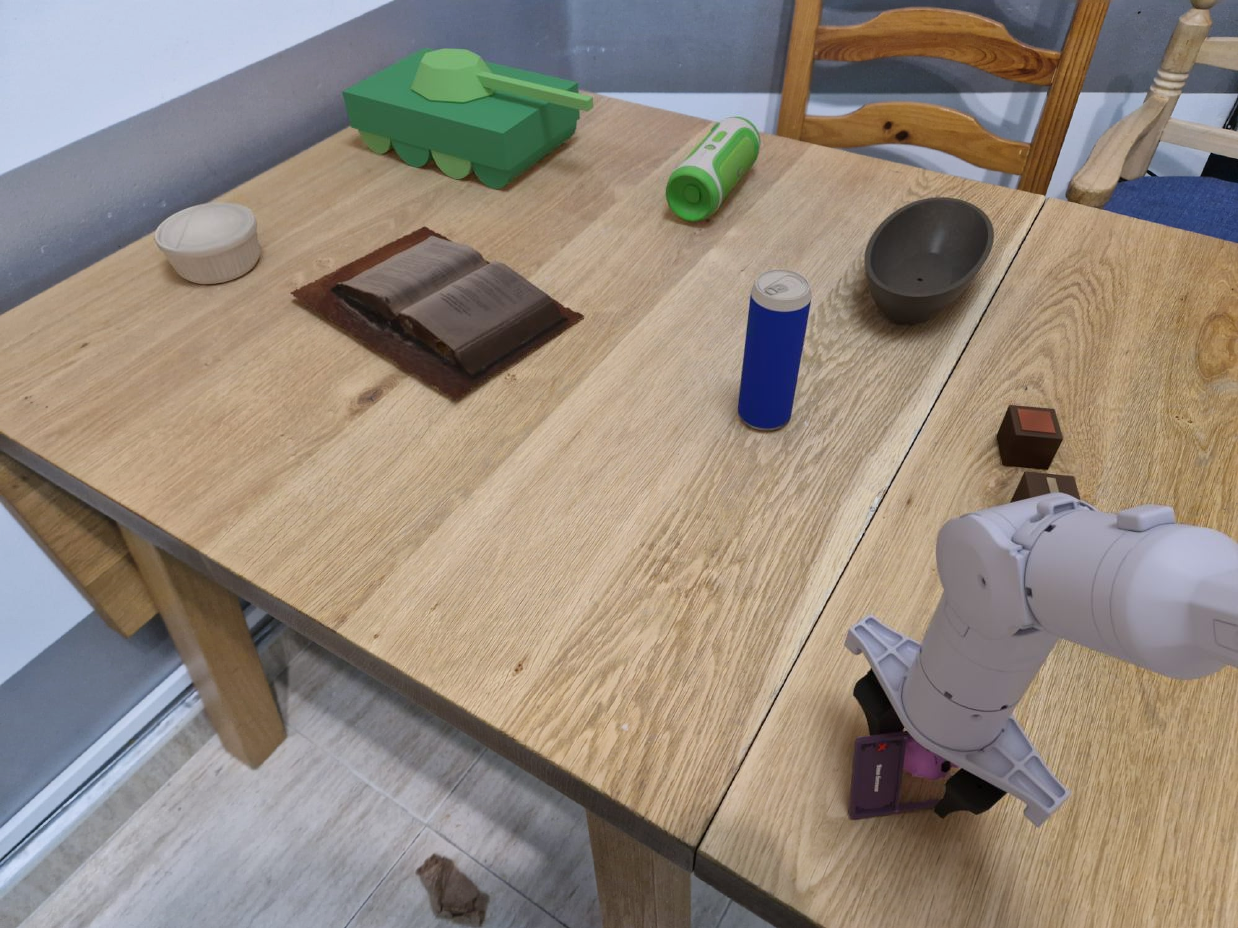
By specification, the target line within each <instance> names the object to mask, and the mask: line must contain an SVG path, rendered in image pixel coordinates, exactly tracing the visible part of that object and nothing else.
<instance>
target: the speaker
mask: <svg viewBox="0 0 1238 928" xmlns="http://www.w3.org/2000/svg"><path fill="white" fill-rule="evenodd" d="M760 151H761V135H760V133H759V130H758V129H757V127H756V126H755V125H754V123H752V121H750V120H749V119H747V118H745V117H742V116H729V117H727V118H724V119H722V120H720V121H718V122H716V124H714V125H713V126H712V127H711V129H710V130H709V132H708V133H707V135H706V136H705V137H704V138H703V139H702V140H701V141H700V142H699V143H698V144H697V146H695V148H694V149H693V150H691V152H690V153H689V154H688V155H687V156H686V158H685V159H684V160H682V162H680V163H679V164H678V165H677V166H676V167H675V168H674V169H673V170H672V172H671V174H670V175H669V178H668V180H667V184H666V187H665V199H666V203H667V205H668V208H670V210H671V211H672V212H673V214H674V215H676V216H677V217H678V218H679V219H681V220H683V221H687V222H692V223H693V222H694V223H695V222H700V221H703V220H706V219H707V218H709V217H710V216H712V215H713V214H715V213H716V212H717V211H718V210H719V209H720V208H721V206H722V203H723V202H724V200H726V198H727V197H728V195H729V194H730V193H731V191H733V189H734V188H735V186H736V185H737V184H738V183H739V181H740V180H741V179H742V178H743V176H745V174H746V173H747V172H748V171H749V170H750V169H751V168H752V167H754V165H755V163H756V161H757V160H758V158H759V157H758V156H759V154H760Z"/></svg>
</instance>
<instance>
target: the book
mask: <svg viewBox="0 0 1238 928" xmlns="http://www.w3.org/2000/svg"><path fill="white" fill-rule="evenodd" d="M483 256H484V255H482V253H481V252H480V251H478V250H476V249H475V248H474V247H472V246H471V245H468V244H464V243H459V242H455V241H453V240H451V239H449V238H447V236H444V235H442V234H441V233H439V232H435V231H434V230H433V229H430V228H429V227H428V226H422V227H420V228H418V229H415V230H413V231H412V232H411V233H409V234H405V235H403V236H402V237H399V238H396V239H395V240H393V241H391V242H389V243H387V244H385V245H383V246H382V247H379V248H377V249H374V250H372V252H369V253H368V254H365V255H364V256H361V257H359V258H357V259H355V260H353V261H351V262H349V263H347V264H345V265H343V266H341V267H339V268H337V269H336V270H335V271H331V272H330V273H328V274H325V275H323V276H322V277H320V278H318V279H315V280H314V281H310V282H309V283H307V284H306V285H305V284H304V285H303V286H301V287H299V289H298V288H296V289H295V290H293V291H290V295H292V296H293V297H294V298H296V299H298V300H299V301H301V302H303V304H306V306H308V307H309V308H311V309H313V310H315V311H316V312H317V313H320V314H322V316H323V317H325V318H326V319H329V320H331V321H332V322H333V323H334V324H336V325H337V326H339V327H340V328H343V329H344V330H346V331H347V332H348V333H350V334H351V335H353V336H354V337H355V338H358V340H361V341H362V342H364V343H365V344H367V345H369V347H371V348H373V349H374V350H376V351H377V352H379V353H381V354H382V355H385V356H386V357H387V358H389V359H390V360H392V362H394V363H396V365H398V366H401V367H402V368H404V369H406V370H407V371H408V372H410V373H413V374H414V375H415V376H417V377H418V378H419V379H420V380H421V381H423V382H424V383H427V384H428V385H429V386H431V387H435V388H436V389H438V391H440V392H442V393H443V394H444V395H447V396H448V397H449V398H452V399H453V401H457V400H460V398H462V397H463V396H466V395H467V394H468V392H471V391H472V389H474V388H477V387H478V386H480V384H483V383H485V382H487V381H488V380H490V377H492V378H493V377H494V375H495V374H498V373H500V372H501V371H503V370H505V369H506V368H507V367H509V366H511V365H514V364H515V363H516V362H518V361H519V360H520V359H522V358H523V357H526V356H527V355H528V354H529V353H532V352H533V351H534V350H536V349H537V348H539V347H541V346H543V345H544V344H545V343H546V342H548V341H549V340H551V339H553V338H555V337H556V336H557V335H559V334H560V333H562V332H563V331H565V330H567V329H569V327H571V326H573V325H574V324H575V323H578V322H579V321H580V320H581V319H584V317H585V316H584V315H583V314H582V313H580V312H577V311H574V310H572V309H571V308H570V307H565V306H564V305H563V304H562V303H560V302H559V301H558V300H556V299H554V298H552V297H551V295H549V294H548V293H547V292H544V291H543V290H542V289H540V288H539V287H538V286H536V284H533V283H532V282H531V281H530V280H528V279H526V278H525V277H524V276H523V275H521V274H520V273H519V272H517V271H515V270H514V269H512V268H511V266H508V265H507V264H506V263H502V262H499V261H497V260H493V261H491V262H490V261H487V260H486V259H485V258H484V257H483ZM439 342H440V343H442V344H444V345H445V346H446V347H447V348H448V350H449V351H448V352H446V353H443V352H442V351H441V350H440V349H438V348H437V347H438V343H439Z"/></svg>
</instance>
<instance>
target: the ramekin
mask: <svg viewBox="0 0 1238 928" xmlns="http://www.w3.org/2000/svg"><path fill="white" fill-rule="evenodd" d="M257 228H258V220H257V218H256V215H255V213H254V212H253V211H252V210H251V209H250V208H249V207H247V206H244V205H242V204H239V203H233V202H227V201H226V202H225V201H220V202H219V201H217V202H208V203H201V204H197V205H193V206H190V207H187V208H185V209H182V210H179V211H177V212H175V213H173V214H171V215H169V216H168V217H167V218H166V219H165V220H163V221H162V222H161V223H160V224H159V225H158V226H157V228H156V230H155V231H154V236H153V238H154V239H153V240H154V242H155V244H156V246H157V248H158V250H160V252H162V253H163V254H164V256H165V257H166V259H167V260H168V262H169V263H170V265H172V267H173V268H174V270H175V271H176V272H177V274H178V275H179V276H180V277H182V278H183V279H185V280H187V281H188V282H191V283H194V284H198V285H215V284H222V283H226V282H229V281H234V280H235V279H237V278H240V277H242V276H244V275H246V274H247V273H249V272H250V271H251V270H252V269H253V268H254V267H255V266H256V264H257V263H258V260H259V259H260V256H261V248H260V241H259V235H258V229H257Z"/></svg>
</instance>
